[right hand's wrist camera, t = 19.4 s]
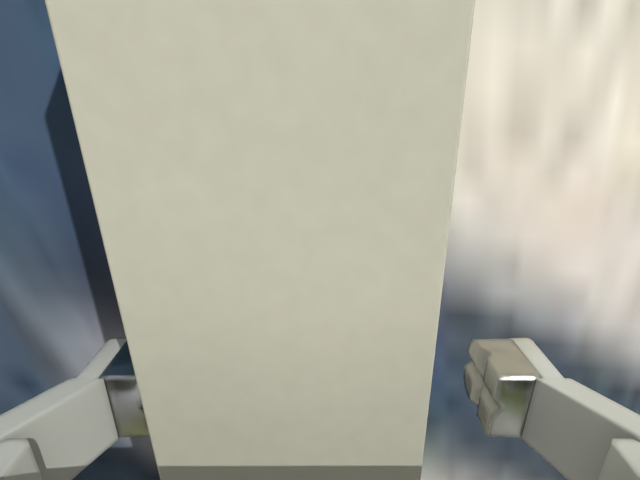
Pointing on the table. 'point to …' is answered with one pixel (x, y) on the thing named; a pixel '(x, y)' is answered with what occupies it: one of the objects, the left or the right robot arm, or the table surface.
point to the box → (273, 220)
